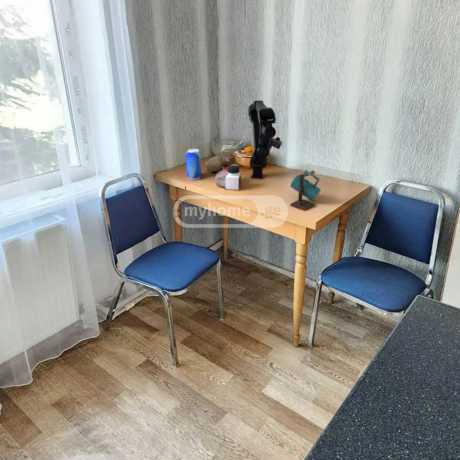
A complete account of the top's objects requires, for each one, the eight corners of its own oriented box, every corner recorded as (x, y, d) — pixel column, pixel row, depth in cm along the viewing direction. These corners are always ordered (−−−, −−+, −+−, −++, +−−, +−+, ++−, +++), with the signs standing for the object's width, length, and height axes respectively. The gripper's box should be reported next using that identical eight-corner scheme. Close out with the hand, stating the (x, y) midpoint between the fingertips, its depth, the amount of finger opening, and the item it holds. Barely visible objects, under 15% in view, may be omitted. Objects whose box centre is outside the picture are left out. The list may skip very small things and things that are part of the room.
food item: (228, 189, 206) (228, 171, 202) (214, 187, 209) (214, 169, 205) (238, 181, 217) (238, 164, 213) (225, 179, 220) (225, 162, 216)
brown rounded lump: (215, 164, 248) (196, 166, 232) (218, 152, 246) (199, 154, 229) (232, 172, 243) (213, 174, 226) (235, 160, 240) (217, 161, 223)
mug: (310, 203, 188) (288, 188, 192) (316, 198, 194) (294, 183, 197) (321, 185, 181) (298, 169, 185) (327, 180, 187) (305, 165, 190)
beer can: (204, 176, 225) (203, 149, 218) (198, 181, 218) (197, 153, 211) (190, 174, 228) (189, 147, 221) (184, 179, 220) (182, 151, 214)
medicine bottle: (238, 190, 205) (238, 168, 200) (225, 189, 206) (225, 167, 201) (241, 185, 211) (241, 164, 206) (228, 184, 212) (228, 163, 207)
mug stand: (290, 205, 187) (292, 176, 181) (309, 196, 197) (312, 168, 191) (304, 210, 182) (306, 181, 176) (323, 200, 192) (326, 172, 186)
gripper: (280, 138, 188) (278, 169, 195) (282, 129, 205) (281, 158, 212) (257, 137, 190) (256, 168, 197) (261, 129, 207) (260, 157, 213)
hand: (264, 163), depth 205 cm, fingers open, 9 cm apart
